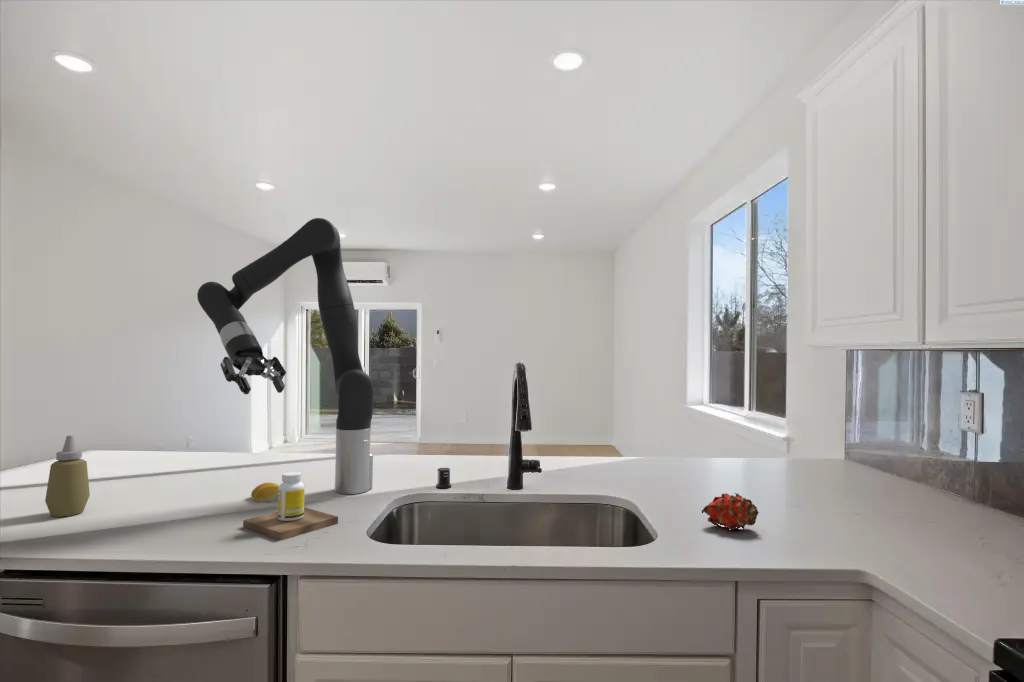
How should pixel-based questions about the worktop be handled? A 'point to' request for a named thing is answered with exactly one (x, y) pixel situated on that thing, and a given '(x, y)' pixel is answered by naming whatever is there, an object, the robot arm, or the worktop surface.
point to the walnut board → (290, 524)
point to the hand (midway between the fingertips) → (265, 391)
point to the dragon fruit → (731, 511)
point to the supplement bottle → (291, 497)
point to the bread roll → (265, 492)
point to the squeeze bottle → (68, 482)
